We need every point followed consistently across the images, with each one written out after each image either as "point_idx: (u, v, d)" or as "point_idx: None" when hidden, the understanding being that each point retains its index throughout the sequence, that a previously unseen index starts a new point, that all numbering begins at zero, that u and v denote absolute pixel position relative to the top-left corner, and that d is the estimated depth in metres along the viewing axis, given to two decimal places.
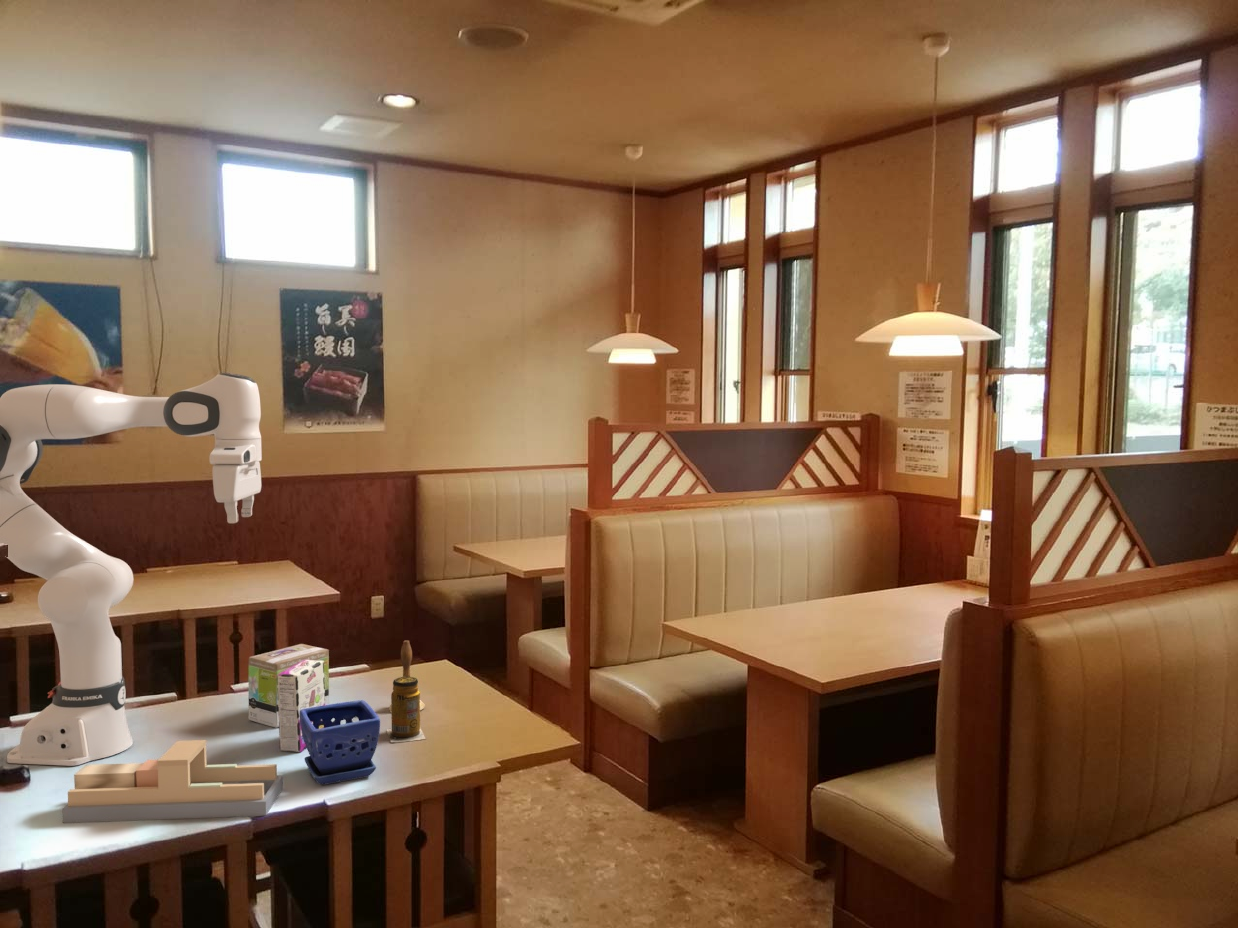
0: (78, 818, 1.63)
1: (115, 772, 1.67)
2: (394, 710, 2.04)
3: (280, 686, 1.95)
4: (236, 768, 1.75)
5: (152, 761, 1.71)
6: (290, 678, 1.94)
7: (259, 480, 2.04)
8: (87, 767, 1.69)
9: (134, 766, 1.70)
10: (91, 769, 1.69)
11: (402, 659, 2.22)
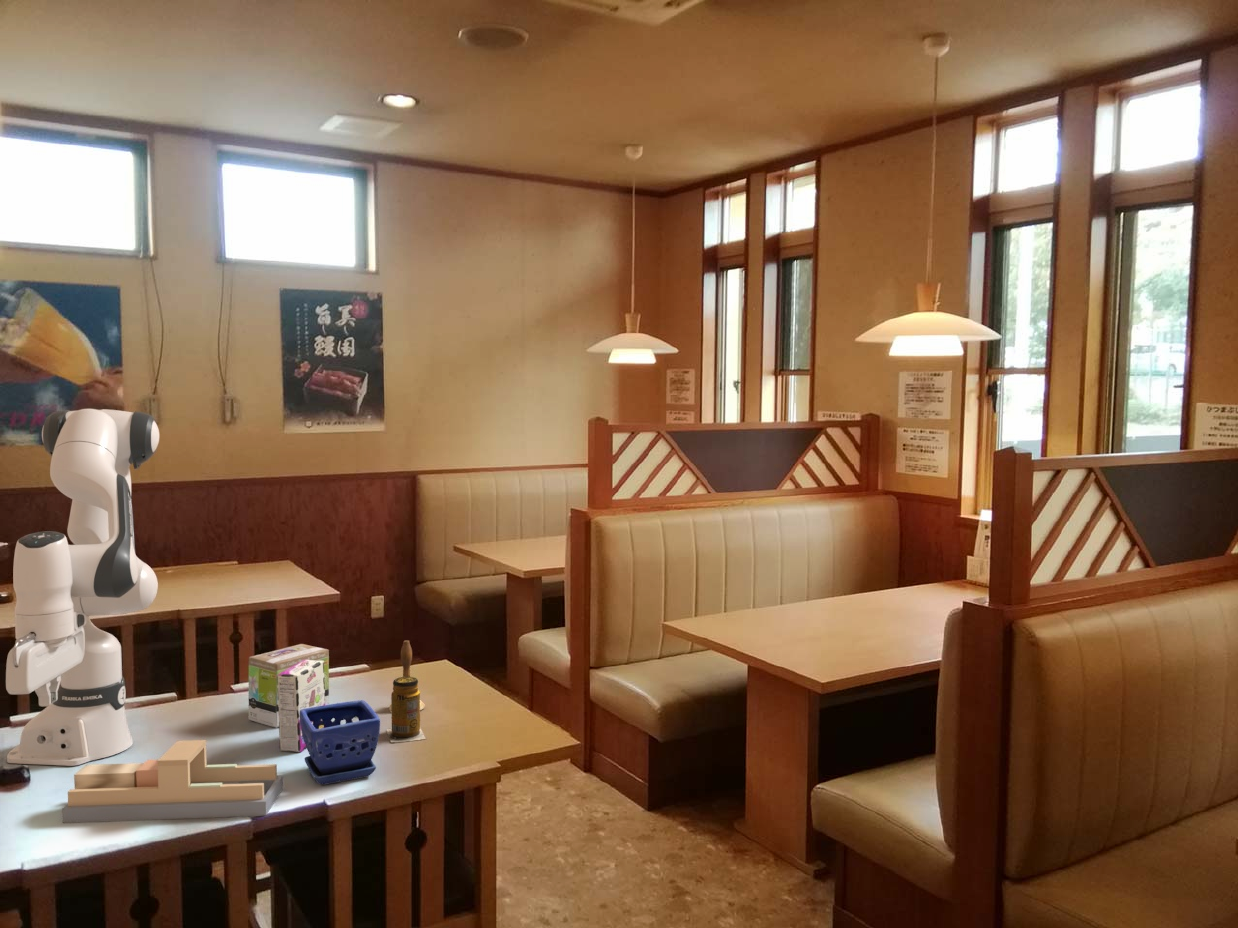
0: (78, 818, 1.63)
1: (115, 772, 1.67)
2: (394, 710, 2.04)
3: (280, 686, 1.95)
4: (236, 768, 1.75)
5: (152, 761, 1.71)
6: (290, 678, 1.94)
7: None
8: (87, 767, 1.69)
9: (134, 766, 1.70)
10: (91, 769, 1.69)
11: (402, 659, 2.22)
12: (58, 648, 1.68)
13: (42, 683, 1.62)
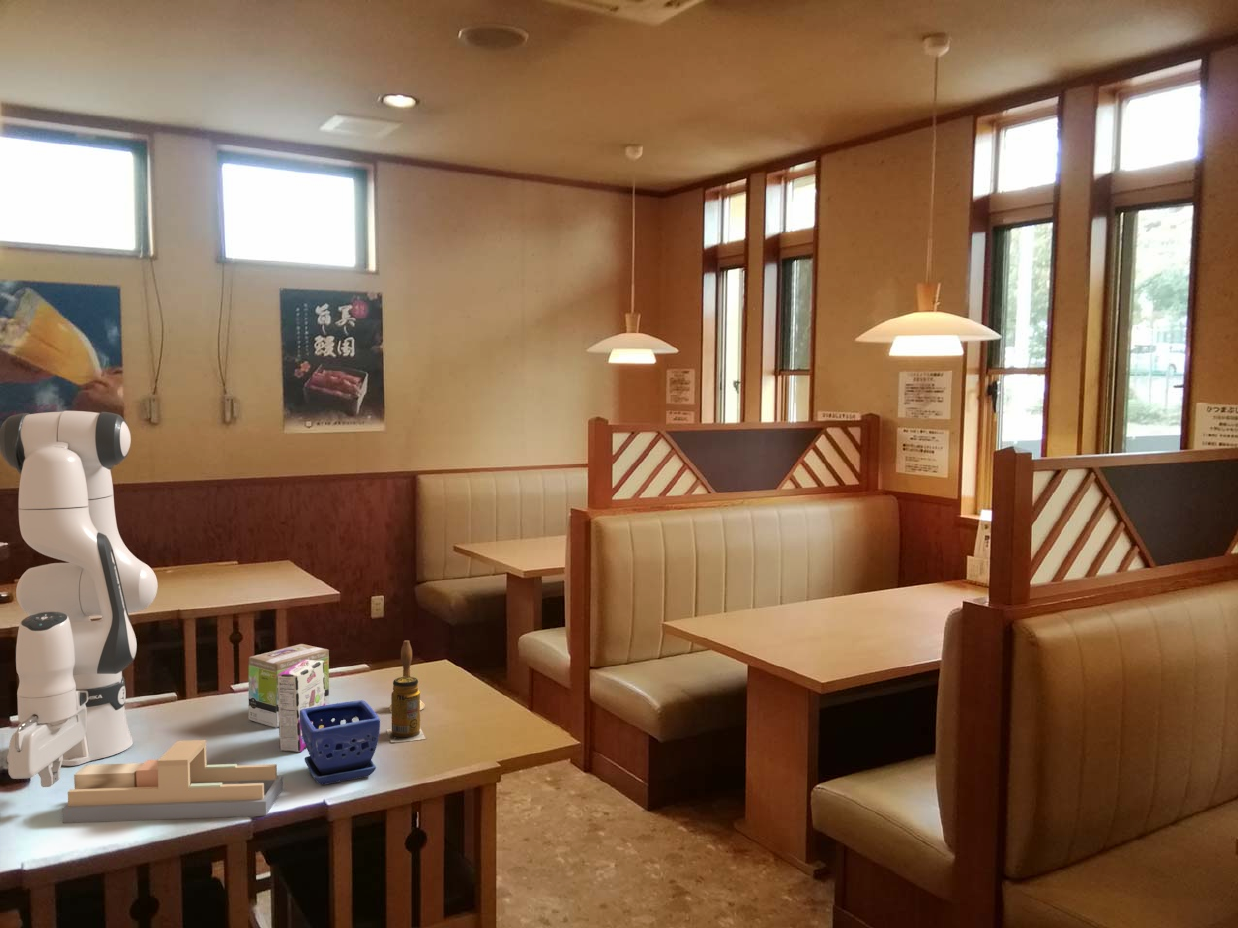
0: (78, 818, 1.63)
1: (115, 772, 1.67)
2: (394, 710, 2.04)
3: (280, 686, 1.95)
4: (236, 768, 1.75)
5: (152, 761, 1.71)
6: (290, 678, 1.94)
7: None
8: (87, 767, 1.69)
9: (134, 766, 1.70)
10: (91, 769, 1.69)
11: (402, 659, 2.22)
12: (61, 728, 1.69)
13: (44, 765, 1.62)
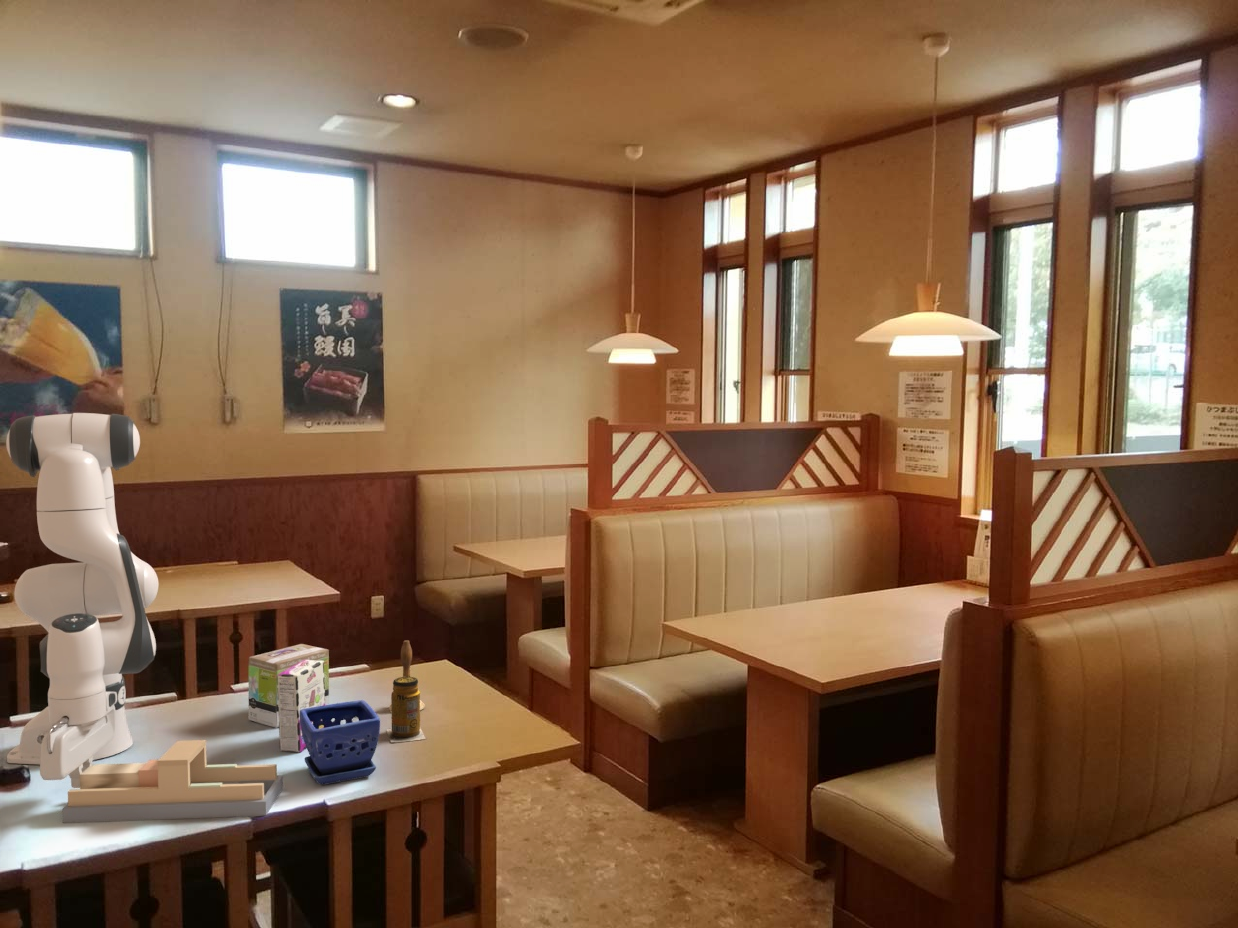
0: (78, 818, 1.63)
1: (120, 772, 1.67)
2: (394, 710, 2.04)
3: (280, 686, 1.95)
4: (236, 768, 1.75)
5: (154, 761, 1.71)
6: (290, 678, 1.94)
7: None
8: (93, 766, 1.70)
9: (139, 766, 1.70)
10: (96, 769, 1.69)
11: (402, 659, 2.22)
12: (90, 729, 1.69)
13: (75, 767, 1.63)
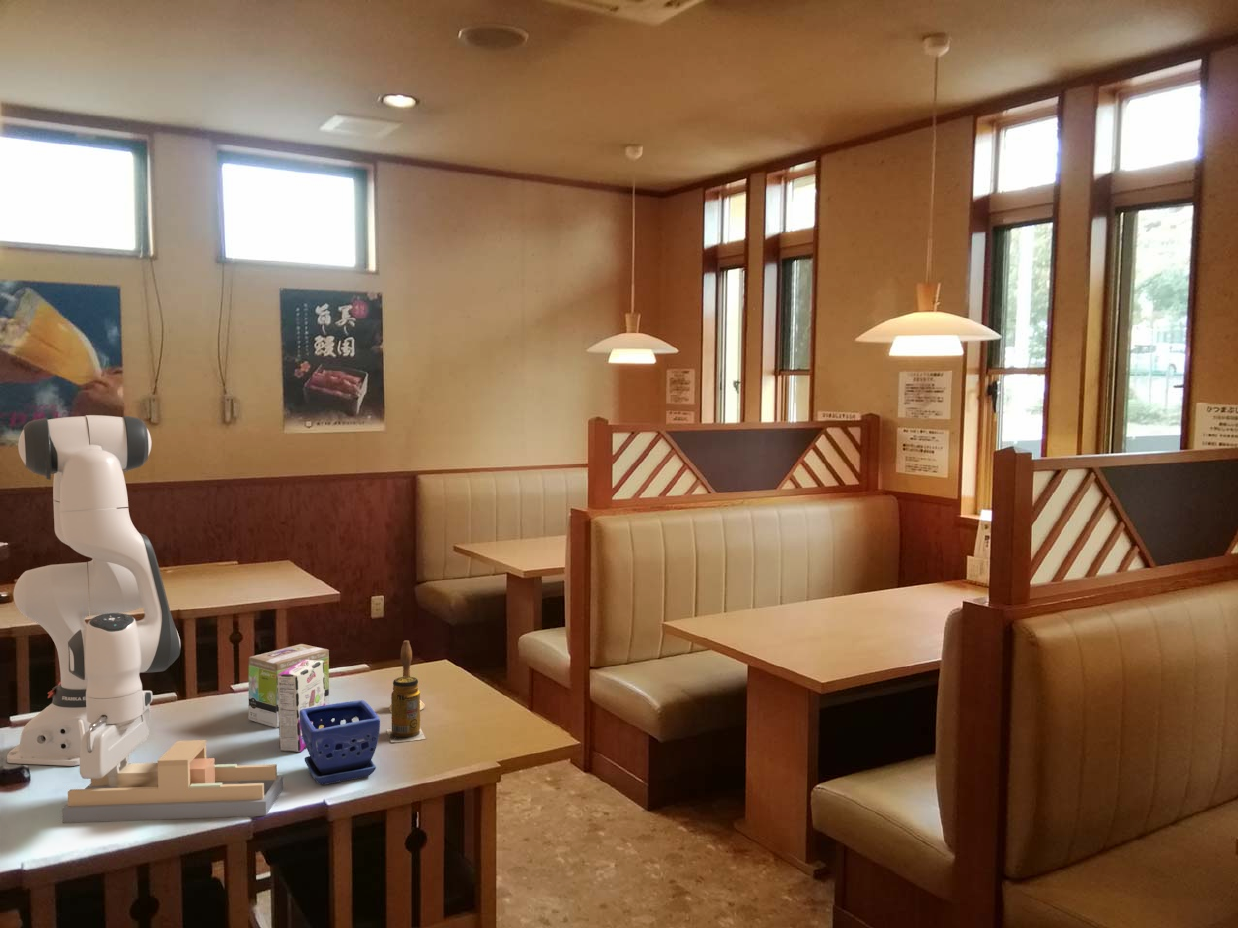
0: (78, 818, 1.63)
1: None
2: (394, 710, 2.04)
3: (280, 686, 1.95)
4: (236, 768, 1.75)
5: None
6: (290, 678, 1.94)
7: None
8: (129, 765, 1.70)
9: None
10: (133, 767, 1.69)
11: (402, 659, 2.22)
12: (127, 728, 1.70)
13: (113, 765, 1.63)
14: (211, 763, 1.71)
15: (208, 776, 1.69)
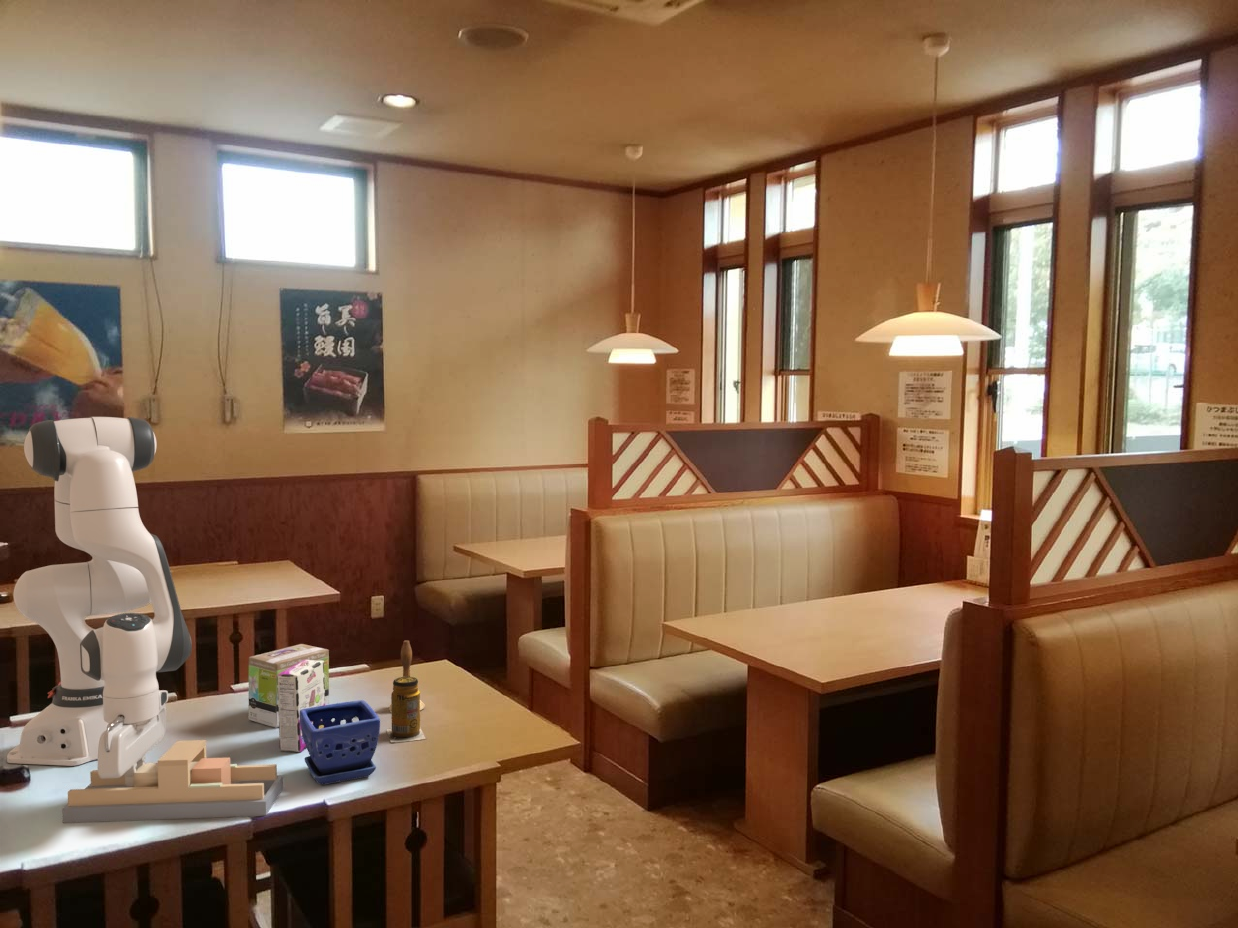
0: (78, 818, 1.63)
1: None
2: (394, 710, 2.04)
3: (280, 686, 1.95)
4: (236, 768, 1.75)
5: (206, 760, 1.72)
6: (290, 678, 1.94)
7: None
8: (145, 765, 1.70)
9: (191, 764, 1.71)
10: (149, 767, 1.69)
11: (402, 659, 2.22)
12: (144, 728, 1.70)
13: (130, 765, 1.64)
14: (227, 762, 1.71)
15: (224, 776, 1.70)
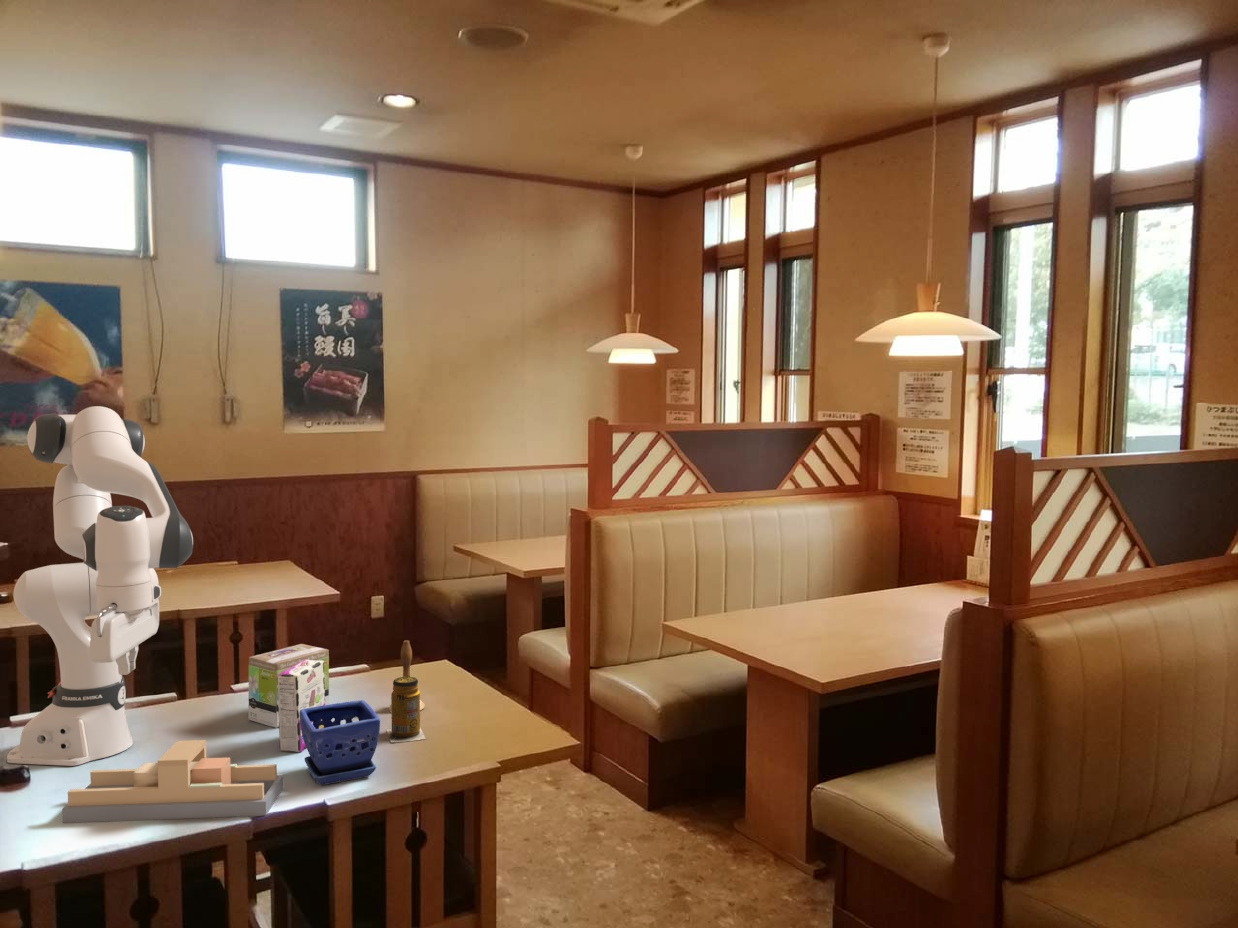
0: (78, 818, 1.63)
1: None
2: (394, 710, 2.04)
3: (280, 686, 1.95)
4: (236, 768, 1.75)
5: (206, 760, 1.72)
6: (290, 678, 1.94)
7: None
8: (145, 765, 1.70)
9: (191, 764, 1.71)
10: (149, 767, 1.69)
11: (402, 659, 2.22)
12: (137, 619, 1.73)
13: (123, 652, 1.67)
14: (227, 762, 1.71)
15: (224, 776, 1.70)
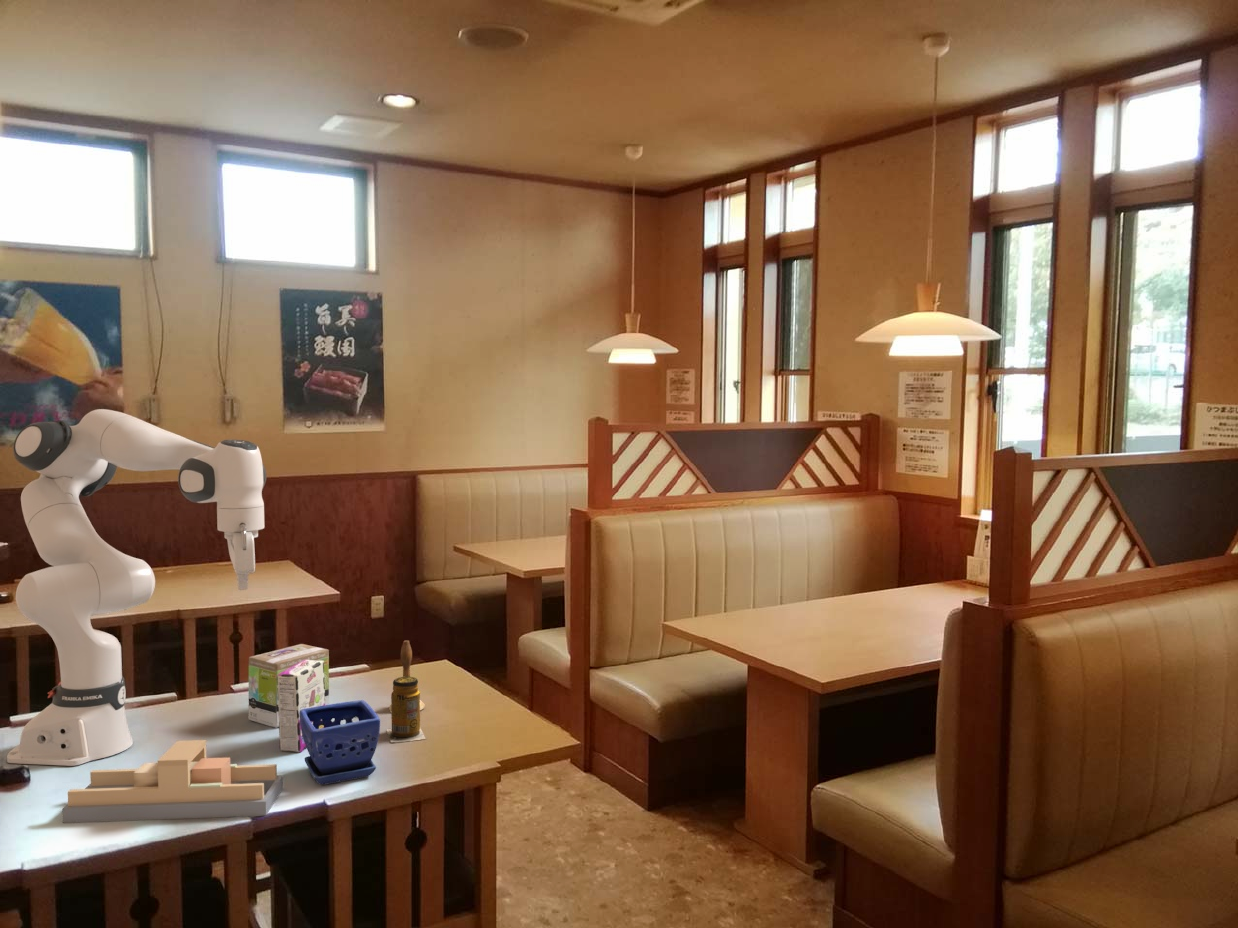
0: (78, 818, 1.63)
1: None
2: (394, 710, 2.04)
3: (280, 686, 1.95)
4: (236, 768, 1.75)
5: (206, 760, 1.72)
6: (290, 678, 1.94)
7: (234, 559, 1.84)
8: (145, 765, 1.70)
9: (191, 764, 1.71)
10: (149, 767, 1.69)
11: (402, 659, 2.22)
12: None
13: None
14: (227, 762, 1.71)
15: (224, 776, 1.70)
